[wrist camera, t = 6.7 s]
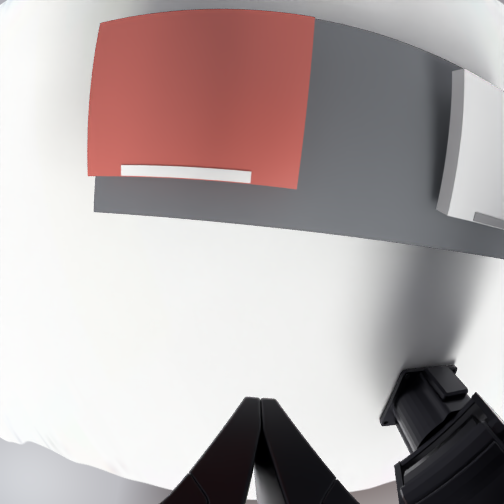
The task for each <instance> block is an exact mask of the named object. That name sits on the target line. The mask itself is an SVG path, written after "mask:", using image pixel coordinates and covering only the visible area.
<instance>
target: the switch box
mask: <svg viewBox="0 0 504 504" xmlns="http://www.w3.org/2000/svg"><path fill="white" fill-rule="evenodd" d="M460 69H463V68H461V67H459V66H457V65H455V64H453V63H451V62H449V61H447V60H445V59H443V58H441V57H438V56H436V55H434V54H432V53H429V52H427V51H424V50H422V49H420V48H417V47H414V46H412V45H409V44H407V43H404V42H401V41H398V40H395V39H392V38H389V37H386V36H383V35H380V34H377V33H374V32H370V31H367V30H363V29H359V28H355V27H352V26H347V25H343V24H339V23H334V22H330V21H325V20H319V19H315V24H314V37H313V49H312V60H311V71H310V81H309V91H308V101H307V110H306V119H305V128H304V136H303V145H302V153H301V161H300V168H299V176H298V184H297V189H290V188H282V187H273V186H264V185H254V184H244V183H233V182H221V181H208V180H194V179H177V178H157V177H126V176H96V178H95V194H94V212H102V213H116V214H130V215H144V216H157V217H169V218H181V219H192V220H203V221H214V222H225V223H235V224H245V225H255V226H264V227H274V228H283V229H292V230H301V231H309V232H318V233H326V234H334V235H342V236H350V237H358V238H366V239H374V240H381V241H389V242H396V243H403V244H410V245H417V246H424V247H431V248H437V249H444V250H451V251H457V252H463V253H470V254H476V255H482V256H488V257H494V258H500V259H504V230H503V229H499V228H495V227H491V226H488V225H484V224H480V223H476V222H472V221H468V220H464V219H460V218H455V217H451V216H447V215H445V214H444V213H442V212H440V211H438V210H436V207H437V203H438V198H439V193H440V188H441V183H442V177H443V172H444V165H445V159H446V152H447V144H448V136H449V126H450V114H451V98H452V71H455V70H460Z"/></svg>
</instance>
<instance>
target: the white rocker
mask: <svg viewBox="0 0 504 504" xmlns="http://www.w3.org/2000/svg"><path fill="white" fill-rule="evenodd" d="M436 210H438V211H440V212H442V213H444V214H445V215H447V216H451V217H455V218H460V219H464V220H468V221H472V222H476V223H480V224H484V225H488V226H491V227H495V228H499V229H503V230H504V91H502V90H501V89H499V88H498V87H496V86H494V85H493V84H491V83H490V82H488V81H486V80H484V79H483V78H481V77H479V76H478V75H476V74H474V73H472V72H470V71H468V70H467V69H465V68H464V69H460V70H455V71H452V98H451V114H450V126H449V136H448V144H447V152H446V159H445V165H444V172H443V177H442V183H441V188H440V193H439V198H438V203H437V207H436Z"/></svg>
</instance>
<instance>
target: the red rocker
mask: <svg viewBox="0 0 504 504" xmlns="http://www.w3.org/2000/svg"><path fill="white" fill-rule="evenodd" d="M314 24H315V17H311V16H305V15H298V14H291V13H283V12H273V11H262V10H245V9H198V10H181V11H169V12H160V13H152V14H145V15H138V16H132V17H127V18H122V19H117V20H112V21H107V22H103V23H100V27H99V32H98V38H97V43H96V49H95V56H94V63H93V70H92V79H91V89H90V100H89V115H88V148H87V159H88V176H126V177H157V178H177V179H194V180H208V181H221V182H233V183H244V184H254V185H264V186H273V187H282V188H290V189H297V184H298V176H299V168H300V161H301V153H302V145H303V136H304V128H305V119H306V110H307V101H308V91H309V81H310V71H311V60H312V49H313V37H314Z"/></svg>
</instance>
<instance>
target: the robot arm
mask: <svg viewBox="0 0 504 504" xmlns="http://www.w3.org/2000/svg"><path fill="white" fill-rule="evenodd" d="M456 371H457V367H456V366H455V365H448V366H446V365H444V366H434V367H426V368H418V369H406V370H404V371H403V372H402V373H401V375H400V377H399V380H398V382H397V385H396V387H395V389H394V392H393V394H392V396H391V398H390V401H389V403H388V405H387V407H386V409H385V412H384V414H383V416H382V418H381V420H380V423H381V425H382V426H390V425H396V426H397V428H398V430H399V432H400V434H401V436H402V438H403V440H404V442H405V444H406V446H407V448H408V450H409V452H410V455H409V456H408V457H406V458H405V459H404V460H402V461H401V462H400V461H399V462H398V463H397V464H395V465H394V468H395V476H396V482H397V490H398V498H399V504H504V422H503V420H502V419H501V418H500V417H499V416H498V415H497V413H496V412H495V411H494V410H493V409H492V408H491V407H490V406H489V405H488V404H487V403H486V402H485V401H484V400H483V398H482V397H481V396H480V395H479V394H478V393H477V392H475V393H474V395H473V396H472V398H470V397H469V396H468V395H467V393H468V389H467V387H466V386H465V385H464V384H463V383H462V382H461V381H460V380H459V378H458V377H457V376H456V375H455V374H456ZM406 375H407V376H406ZM253 468H254V473H255V484H256V495H257V504H360V503H359V502H357V501H356V499H355V498H354V497H353V496H352V495H351V494H350V493H349V492H348V491H347V490H346V489H345V487H344V486H343V485H342V484H341V483H340V481H339V480H336V477H335V476H334V474H333V473H332V472H331V471H330V469H329V468H328V467H327V466H326V465H325V463H324V462H323V461H322V460H321V458H320V457H319V456H318V455H317V453H316V452H315V451H314V450H313V448H312V447H311V446H310V444H309V443H308V442H307V441H306V439H305V438H304V437H303V435H302V434H301V433H300V431H299V430H298V429H297V427H296V426H295V425H294V423H293V422H292V421H291V419H290V418H289V417H288V415H287V414H286V413H285V411H284V410H283V409H282V407H281V406H280V404H279V403H278V402H277V400H276V399H271V398H262V399H261V400H260V399H259V398H257V397H245V398H244V399H243V401H242V402H241V404H240V405H239V406H238V408H237V409H236V411H235V412H234V413H233V415H232V416H231V418H230V419H229V420H228V422H227V423H226V424H225V426H224V427H223V429H222V430H221V431H220V433H219V434H218V435H217V437H216V438H215V439H214V441H213V442H212V443H211V445H210V446H209V447H208V448H207V450H206V451H205V452H204V454H203V455H202V456H201V458H200V459H199V460H198V461H197V463H196V464H195V465H194V466H193V468H192V469H191V470H190V471H189V474H187V475H186V476H185V477H184V478H183V480H182V481H181V482H180V483H179V484H178V485H177V487H176V488H175V489H174V490H173V491H172V492H171V493H170V494H169V495H168V496H167V497H166V498H165V499H164V500H163V501H162V502H161V503H160V504H246V500H247V495H248V491H249V487H250V482H251V478H252V473H253Z"/></svg>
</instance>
